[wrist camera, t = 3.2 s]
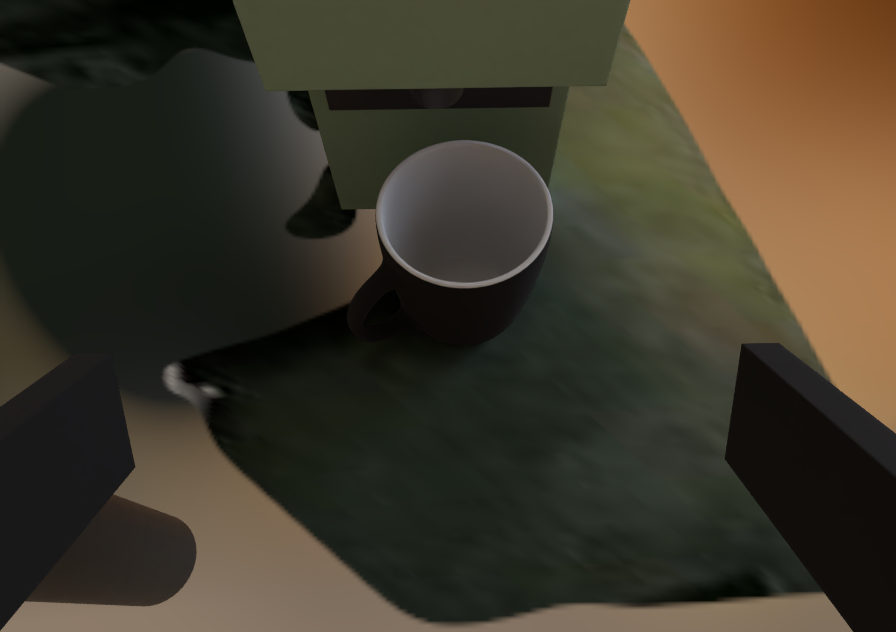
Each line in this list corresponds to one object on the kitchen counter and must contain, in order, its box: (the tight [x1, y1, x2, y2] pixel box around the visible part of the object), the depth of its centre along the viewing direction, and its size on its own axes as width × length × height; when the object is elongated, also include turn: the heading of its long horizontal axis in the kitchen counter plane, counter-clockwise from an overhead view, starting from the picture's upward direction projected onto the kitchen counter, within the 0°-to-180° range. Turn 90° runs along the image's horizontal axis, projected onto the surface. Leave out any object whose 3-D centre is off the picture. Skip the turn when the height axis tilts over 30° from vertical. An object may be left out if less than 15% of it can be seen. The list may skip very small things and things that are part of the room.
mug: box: [347, 140, 553, 346], centre depth 36 cm, size 12×9×10 cm
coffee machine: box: [233, 0, 630, 209], centre depth 35 cm, size 14×16×23 cm
